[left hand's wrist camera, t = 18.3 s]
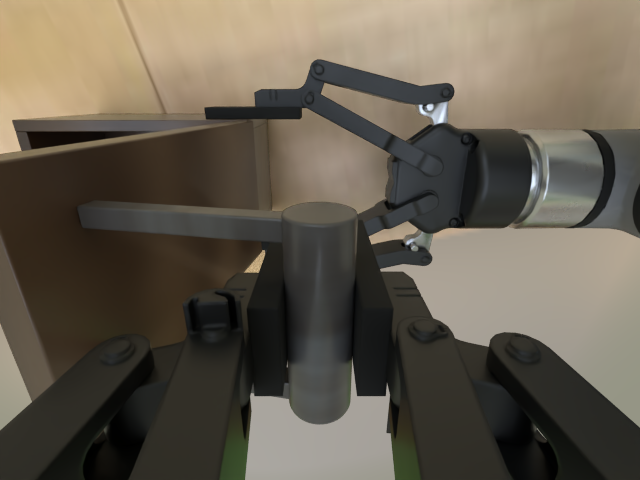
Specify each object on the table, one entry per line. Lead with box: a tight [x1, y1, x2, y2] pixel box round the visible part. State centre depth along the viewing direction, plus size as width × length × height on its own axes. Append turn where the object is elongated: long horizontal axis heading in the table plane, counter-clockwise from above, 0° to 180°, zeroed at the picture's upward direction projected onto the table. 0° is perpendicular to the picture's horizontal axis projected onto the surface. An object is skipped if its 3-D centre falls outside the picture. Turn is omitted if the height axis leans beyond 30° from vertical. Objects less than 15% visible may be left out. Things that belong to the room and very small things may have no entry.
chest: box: [12, 114, 272, 211], centre depth 29 cm, size 16×9×10 cm, turn 90°
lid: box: [0, 120, 358, 440], centre depth 16 cm, size 16×9×9 cm
